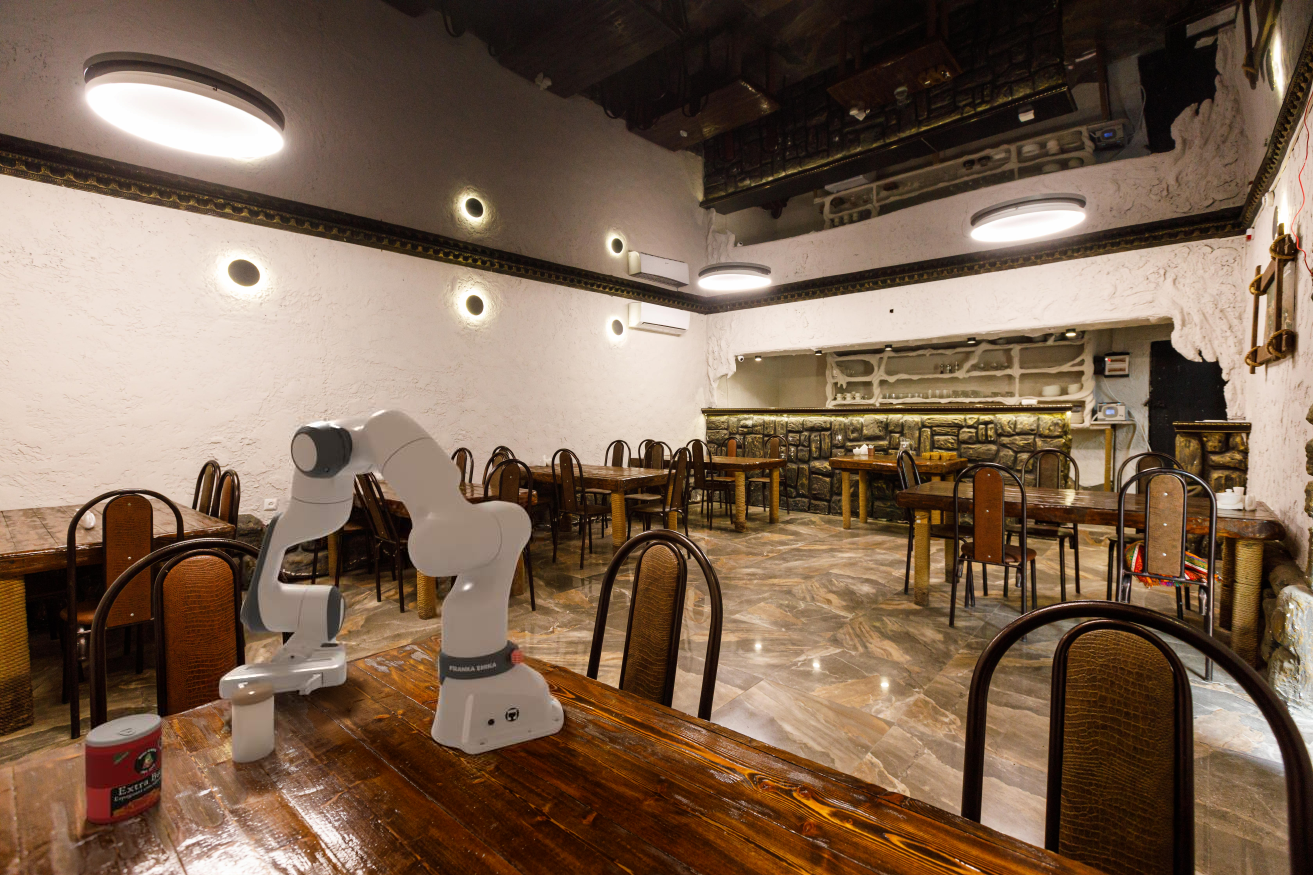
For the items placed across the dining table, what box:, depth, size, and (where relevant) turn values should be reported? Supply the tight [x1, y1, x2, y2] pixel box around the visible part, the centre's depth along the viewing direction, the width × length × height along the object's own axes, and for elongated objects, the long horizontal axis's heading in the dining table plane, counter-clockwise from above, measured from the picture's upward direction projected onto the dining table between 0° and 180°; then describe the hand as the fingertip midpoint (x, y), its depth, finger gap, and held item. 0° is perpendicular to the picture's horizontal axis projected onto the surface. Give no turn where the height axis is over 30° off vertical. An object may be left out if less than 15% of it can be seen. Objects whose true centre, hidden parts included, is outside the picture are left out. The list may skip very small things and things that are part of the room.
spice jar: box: [230, 683, 276, 764], centre depth 92 cm, size 6×6×10 cm
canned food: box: [84, 713, 163, 824], centre depth 78 cm, size 8×8×11 cm
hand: (273, 694), depth 100 cm, fingers open, 8 cm apart
